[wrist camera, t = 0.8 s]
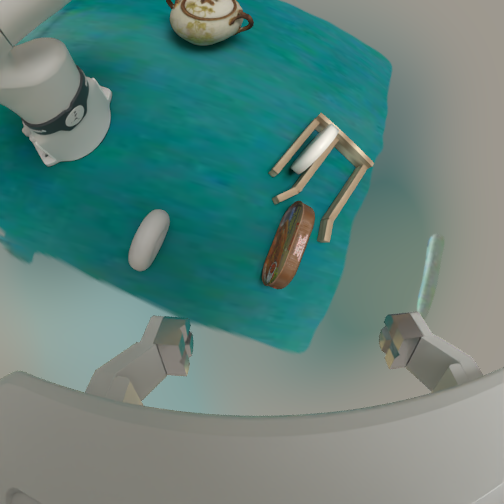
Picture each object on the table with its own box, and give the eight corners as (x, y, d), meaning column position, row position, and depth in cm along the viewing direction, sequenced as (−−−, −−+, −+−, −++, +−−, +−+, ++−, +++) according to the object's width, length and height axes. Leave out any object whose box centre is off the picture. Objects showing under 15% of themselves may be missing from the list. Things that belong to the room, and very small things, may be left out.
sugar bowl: (257, 31, 48) (276, -12, 34) (229, 70, 47) (244, 22, 33) (183, 7, 44) (187, -37, 30) (148, 43, 43) (143, -5, 29)
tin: (287, 203, 50) (306, 195, 42) (302, 211, 51) (322, 204, 43) (256, 281, 49) (270, 287, 41) (272, 287, 50) (288, 295, 42)
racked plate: (283, 174, 50) (307, 157, 39) (313, 136, 51) (340, 114, 40) (289, 180, 50) (315, 164, 39) (319, 142, 52) (347, 121, 41)
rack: (255, 188, 49) (262, 183, 44) (311, 121, 51) (321, 112, 47) (321, 244, 52) (332, 244, 47) (367, 173, 54) (379, 168, 50)
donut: (157, 209, 45) (149, 200, 35) (175, 218, 46) (171, 211, 36) (132, 263, 44) (118, 267, 34) (150, 272, 45) (140, 278, 35)
